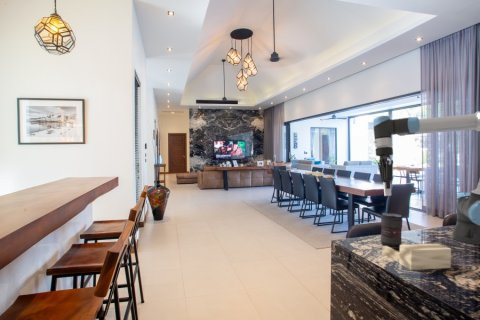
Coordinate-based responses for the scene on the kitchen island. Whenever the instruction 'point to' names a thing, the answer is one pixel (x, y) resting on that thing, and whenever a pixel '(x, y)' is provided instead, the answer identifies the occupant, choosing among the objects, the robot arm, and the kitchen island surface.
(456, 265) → the kitchen island surface
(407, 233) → the kitchen island surface
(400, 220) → the camera lens
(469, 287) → the kitchen island surface
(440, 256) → the cradle
